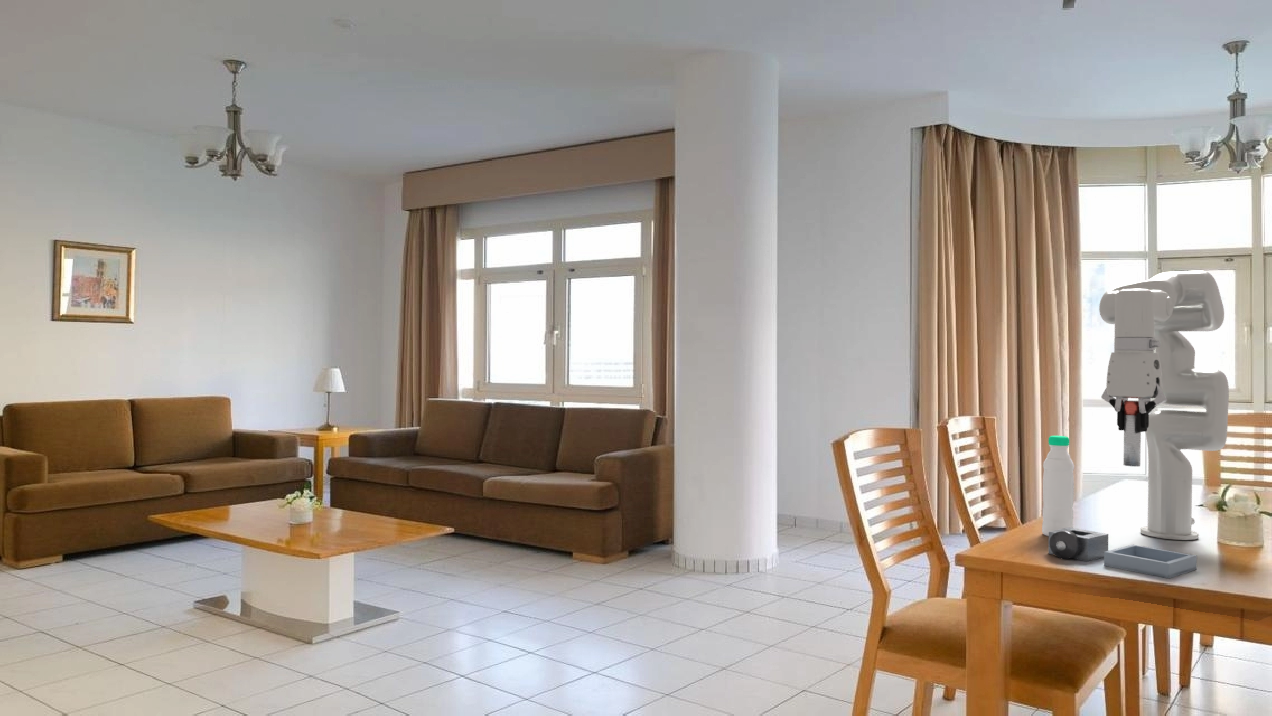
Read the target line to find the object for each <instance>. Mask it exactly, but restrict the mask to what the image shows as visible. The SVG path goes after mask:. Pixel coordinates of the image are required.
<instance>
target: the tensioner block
mask: <svg viewBox="0 0 1272 716" xmlns="http://www.w3.org/2000/svg"><path fill="white" fill-rule="evenodd" d="M1105 551H1109V533H1104V532H1098V531H1092V530H1086V529H1082V528H1081V529H1080V528H1075V527H1073V528H1070V527H1069V528H1064V529H1059V530H1055V531H1050V532H1049V536H1048V553H1049V554H1050V555H1053V554H1054V556H1055V557H1057V558H1059V559H1061V558H1062V560H1068V559H1074V560H1079V561H1085V562H1091V561H1095V560H1098V559H1104V552H1105Z"/></svg>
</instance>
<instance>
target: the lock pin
mask: <svg viewBox="0 0 1272 716" xmlns="http://www.w3.org/2000/svg"><path fill="white" fill-rule="evenodd" d="M1138 413H1139V401H1138V400H1128V401H1124V430H1123V466H1125V467H1141V452H1142V451H1141V449H1142V448H1141V447H1142V446H1141V444H1142V443H1141V442H1142V435H1141V434H1142V432H1138V431H1137V414H1138Z"/></svg>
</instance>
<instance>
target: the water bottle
mask: <svg viewBox="0 0 1272 716" xmlns="http://www.w3.org/2000/svg"><path fill="white" fill-rule="evenodd" d="M1047 441H1048V446H1049V448H1050V450H1049V452H1048V453H1047V455H1046V458H1045V459H1044V461H1043V462H1042V468H1043V474H1042V475H1043V476H1042V477H1043V478H1042V504H1043V505H1042V523H1041V524H1042V525H1041V526H1042V527H1041V528H1042V529H1041V532H1042V534H1043V535H1044V536H1046V537H1049V532H1050V531H1055V530H1059V529H1064V528H1069V527H1070V528H1074V524H1073V520H1074V508H1073V505H1074V495H1075V494H1074V493H1075V487H1074V485H1075V481H1074V480H1075V478H1074V469H1075V464H1074V462H1073V459H1072V458H1071V454H1070V453H1069V452H1068V448H1069V445H1070V438H1069V437H1068V436H1064V435H1050V436H1049V437H1048V440H1047Z"/></svg>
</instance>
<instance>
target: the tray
mask: <svg viewBox="0 0 1272 716" xmlns="http://www.w3.org/2000/svg"><path fill="white" fill-rule="evenodd" d="M1197 559H1198V558H1197V555H1196V554H1190V553H1184V552H1178V551H1171V550H1168V549H1167V550H1166V549H1161V548H1155V547H1149V546H1144V545H1138V544H1130V545H1126V546H1120V547H1116V548H1114V549H1110V550H1109V549H1108V551H1105V552H1104V557H1103V561H1104V562H1103V566H1105V567H1110V568H1115V569H1119V570H1124V571H1131V572H1135V573H1140V574H1145V575H1150V576H1155V577H1158V578H1159V577H1161V578H1166V579H1171V578H1174V577H1178V576H1181V575H1183V574H1187V573H1190V572H1193V571H1196V570H1197Z"/></svg>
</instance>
